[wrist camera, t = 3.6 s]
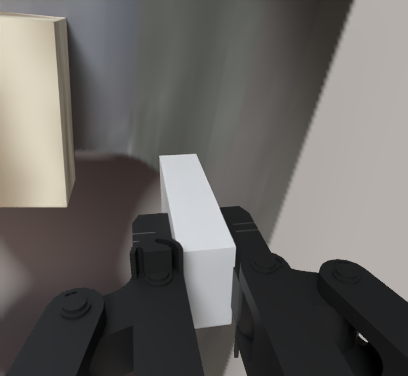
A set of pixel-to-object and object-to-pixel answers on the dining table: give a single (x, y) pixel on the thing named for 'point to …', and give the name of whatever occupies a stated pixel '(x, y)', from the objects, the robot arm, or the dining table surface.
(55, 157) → the maple block
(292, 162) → the dining table surface
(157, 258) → the robot arm
